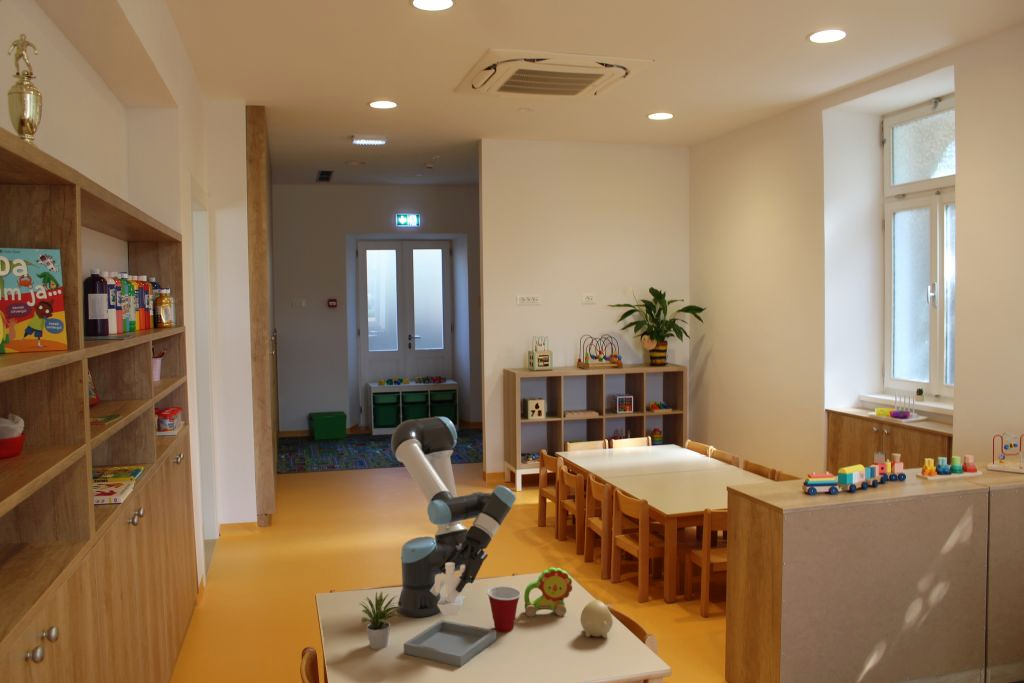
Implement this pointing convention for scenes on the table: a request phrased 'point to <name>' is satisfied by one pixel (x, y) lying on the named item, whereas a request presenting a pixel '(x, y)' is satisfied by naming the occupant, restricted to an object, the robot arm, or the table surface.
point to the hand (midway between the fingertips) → (441, 596)
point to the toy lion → (549, 592)
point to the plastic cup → (503, 606)
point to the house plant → (378, 622)
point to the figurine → (449, 589)
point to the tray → (450, 642)
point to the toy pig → (596, 619)
